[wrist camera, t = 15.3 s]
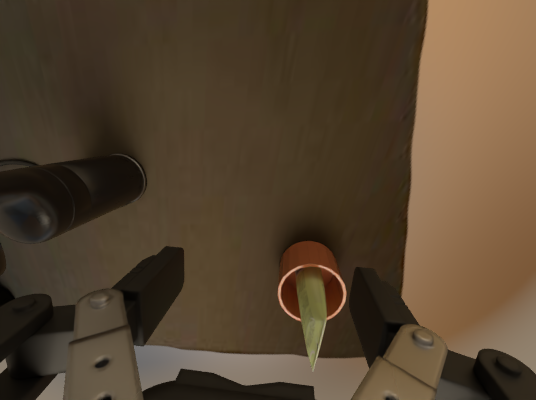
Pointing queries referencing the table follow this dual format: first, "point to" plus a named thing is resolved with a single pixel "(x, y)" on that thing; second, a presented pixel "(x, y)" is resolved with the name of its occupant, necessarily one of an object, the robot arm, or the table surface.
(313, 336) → the tube
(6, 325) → the robot arm
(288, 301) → the pen cup
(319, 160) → the table surface
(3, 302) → the ink bottle
